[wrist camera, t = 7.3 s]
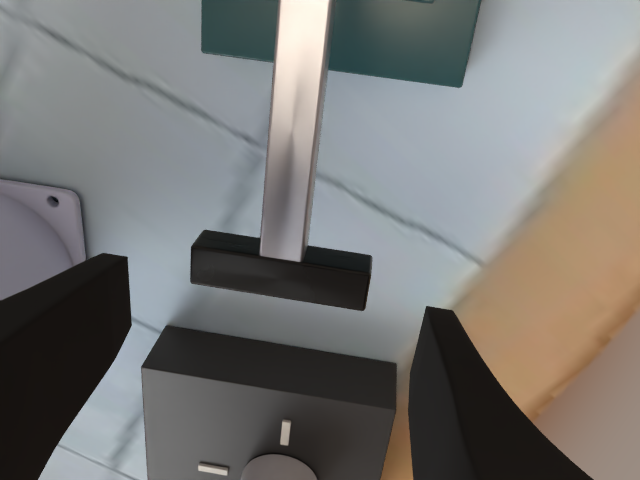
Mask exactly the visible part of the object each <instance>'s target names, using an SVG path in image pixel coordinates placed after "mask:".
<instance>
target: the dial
mask: <svg viewBox="0 0 640 480" xmlns="http://www.w3.org/2000/svg"><path fill="white" fill-rule="evenodd" d="M241 480H317V478H316V476H315V474H314V473H313V471H312V470H311V469H310V468H309V467H308V466H307V465H306V464H304V463H303V462H301V461H299V460H297V459H295V458H292V457H289V456H285V455H279V454H269V455H263V456H259V457H257V458H255V459H253V460H251V461H250V462H249V463H248V464H247V465H246V466H245V468H244V470H243V473H242V476H241Z"/></svg>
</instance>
